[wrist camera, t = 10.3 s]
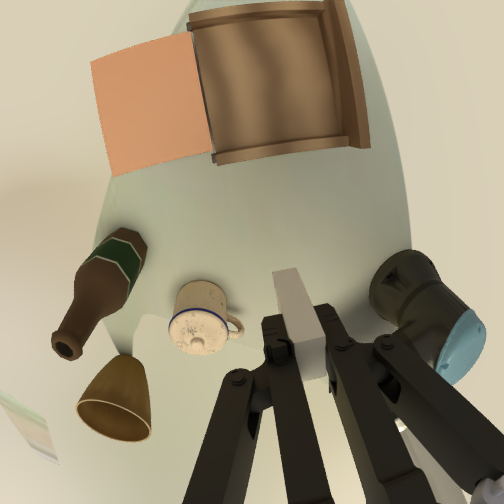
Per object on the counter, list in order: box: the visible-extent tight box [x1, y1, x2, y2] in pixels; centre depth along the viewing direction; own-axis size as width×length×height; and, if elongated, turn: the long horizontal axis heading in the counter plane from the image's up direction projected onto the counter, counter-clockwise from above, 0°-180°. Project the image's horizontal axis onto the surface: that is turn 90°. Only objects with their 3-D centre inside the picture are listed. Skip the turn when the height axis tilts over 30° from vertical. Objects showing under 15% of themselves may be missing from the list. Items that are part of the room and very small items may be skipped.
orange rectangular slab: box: [91, 31, 213, 177], centre depth 28 cm, size 2×15×12 cm
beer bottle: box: [51, 228, 147, 361], centre depth 33 cm, size 8×8×24 cm
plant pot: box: [76, 355, 151, 443], centre depth 48 cm, size 15×15×16 cm
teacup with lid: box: [169, 281, 244, 355], centre depth 44 cm, size 12×9×12 cm
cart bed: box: [186, 0, 371, 166], centre depth 29 cm, size 17×18×14 cm
